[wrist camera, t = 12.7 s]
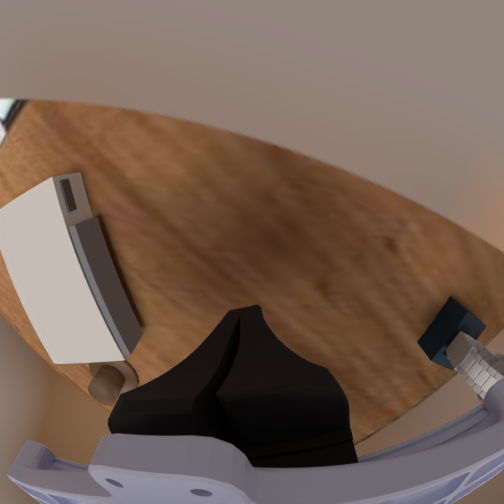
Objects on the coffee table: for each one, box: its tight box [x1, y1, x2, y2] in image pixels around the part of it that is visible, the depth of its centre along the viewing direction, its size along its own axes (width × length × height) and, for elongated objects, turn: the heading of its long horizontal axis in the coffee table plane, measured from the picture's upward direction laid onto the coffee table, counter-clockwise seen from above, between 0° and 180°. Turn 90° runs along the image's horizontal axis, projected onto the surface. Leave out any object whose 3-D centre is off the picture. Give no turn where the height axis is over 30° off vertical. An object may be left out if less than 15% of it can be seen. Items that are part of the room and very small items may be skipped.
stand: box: [88, 360, 138, 405], centre depth 24 cm, size 6×6×4 cm
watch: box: [417, 297, 504, 403], centre depth 18 cm, size 6×8×11 cm
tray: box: [69, 216, 143, 355], centre depth 20 cm, size 9×10×3 cm
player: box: [0, 172, 128, 364], centre depth 20 cm, size 9×15×4 cm, turn 14°
